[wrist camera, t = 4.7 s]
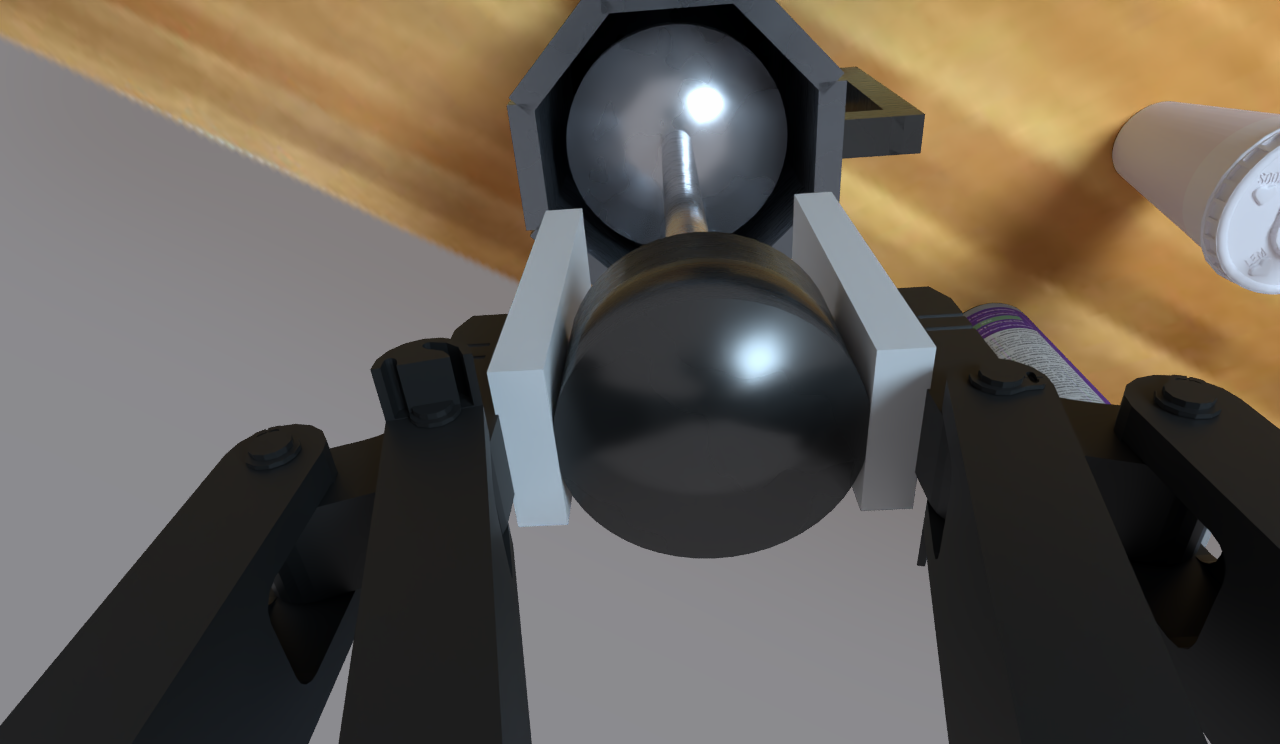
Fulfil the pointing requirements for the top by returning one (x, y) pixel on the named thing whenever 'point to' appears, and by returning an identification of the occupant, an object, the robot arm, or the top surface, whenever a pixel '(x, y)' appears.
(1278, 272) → the smoothie
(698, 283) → the plunger
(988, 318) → the container
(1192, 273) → the top surface
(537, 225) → the mug
